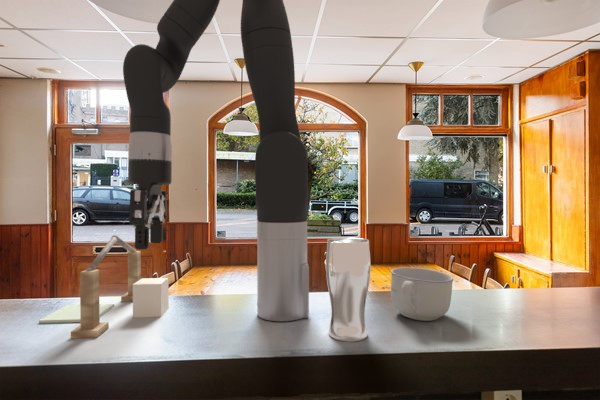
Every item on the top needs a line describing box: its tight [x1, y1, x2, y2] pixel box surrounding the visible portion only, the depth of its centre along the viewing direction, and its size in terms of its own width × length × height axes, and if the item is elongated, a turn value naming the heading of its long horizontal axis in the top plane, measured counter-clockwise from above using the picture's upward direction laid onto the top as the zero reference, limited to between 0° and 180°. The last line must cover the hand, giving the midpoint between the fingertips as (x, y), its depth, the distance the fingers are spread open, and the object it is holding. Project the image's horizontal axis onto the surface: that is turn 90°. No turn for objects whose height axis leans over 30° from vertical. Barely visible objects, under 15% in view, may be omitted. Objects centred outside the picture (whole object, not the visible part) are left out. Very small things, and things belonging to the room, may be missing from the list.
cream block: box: [132, 277, 170, 318], centre depth 71 cm, size 5×5×6 cm
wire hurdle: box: [70, 234, 142, 339], centre depth 71 cm, size 4×24×15 cm, turn 5°
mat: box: [38, 303, 115, 324], centre depth 70 cm, size 9×9×1 cm
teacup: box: [390, 267, 454, 322], centre depth 68 cm, size 14×11×8 cm
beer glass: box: [325, 237, 371, 343], centre depth 60 cm, size 7×7×15 cm
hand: (149, 245), depth 71 cm, fingers open, 8 cm apart
